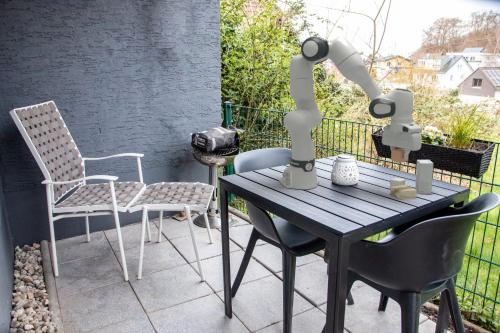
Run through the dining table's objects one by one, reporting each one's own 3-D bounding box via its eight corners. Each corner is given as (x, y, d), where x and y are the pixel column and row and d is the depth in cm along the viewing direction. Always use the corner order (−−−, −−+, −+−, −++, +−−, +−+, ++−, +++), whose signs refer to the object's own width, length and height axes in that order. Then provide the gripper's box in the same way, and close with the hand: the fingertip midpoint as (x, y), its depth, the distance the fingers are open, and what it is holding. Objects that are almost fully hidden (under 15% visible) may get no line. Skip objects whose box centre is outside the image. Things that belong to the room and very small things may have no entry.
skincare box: (431, 194, 174) (434, 163, 171) (417, 194, 176) (420, 162, 172) (427, 189, 182) (430, 159, 179) (414, 188, 184) (416, 158, 180)
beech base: (389, 194, 176) (390, 186, 175) (404, 193, 178) (405, 185, 177) (400, 200, 169) (401, 191, 168) (416, 198, 171) (416, 190, 170)
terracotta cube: (391, 160, 170) (391, 149, 169) (399, 159, 172) (400, 148, 171) (399, 162, 165) (399, 151, 164) (408, 161, 167) (408, 150, 166)
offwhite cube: (389, 189, 184) (390, 179, 182) (395, 187, 187) (396, 177, 185) (398, 191, 180) (399, 181, 179) (404, 189, 183) (405, 179, 182)
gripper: (379, 124, 173) (378, 154, 177) (413, 129, 155) (411, 162, 158) (390, 123, 176) (388, 152, 179) (425, 128, 157) (422, 160, 160)
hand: (399, 157), depth 168 cm, fingers closed on terracotta cube, 5 cm apart
